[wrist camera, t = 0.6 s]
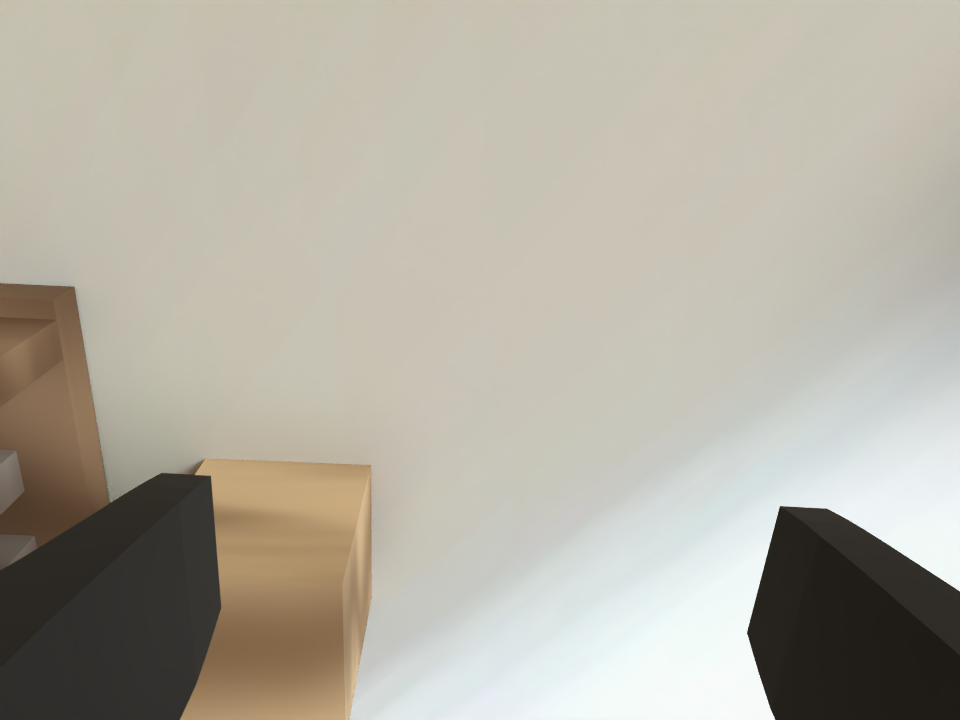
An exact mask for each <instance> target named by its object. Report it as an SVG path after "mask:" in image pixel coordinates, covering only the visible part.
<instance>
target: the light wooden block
mask: <svg viewBox="0 0 960 720" xmlns="http://www.w3.org/2000/svg"><path fill="white" fill-rule="evenodd" d="M195 475H204V476H211V482H212V495H213V508H214V521H215V533H216V546H217V559H218V572H219V584H220V597H221V610H220V614H219V617H218V620H217V623H216V626H215V630H214V633H213V636H212V639H211V642H210V646H209V649H208V652H207V655H206V658H205V660H204V663H203V666H202V669H201V672H200V675H199V678H198V681H197V684H196V686H195V688H194V690H193V693H192V695H191V697H190V699H189V701H188V704H187V706H186V708H185V710H184V712H183V714H182V716H181V719H180V720H349V718H350V713H351V707H352V702H353V696H354V691H355V685H356V680H357V674H358V669H359V663H360V658H361V652H362V647H363V641H364V636H365V630H366V625H367V619H368V614H369V608H370V603H371V597H372V572H371V465H350V464H325V463H300V462H275V461H249V460H224V459H205V460H204V461H203V463H202V464H201V466H200V467H199V469H198V471H197V472H196V474H195Z"/></svg>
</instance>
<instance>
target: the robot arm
mask: <svg viewBox="0 0 960 720" xmlns="http://www.w3.org/2000/svg"><path fill="white" fill-rule="evenodd" d="M220 610H221V597H220V584H219V572H218V559H217V546H216V533H215V521H214V508H213V495H212V482H211V476H204V475H186V474H167V473H161V474H159V475H157V476H155V477H154V478H152V479H150V480H148V481H146V482H144V483H143V484H141V485H139V486H138V487H136V488H134V489H133V490H131V491H129V492H128V493H126V494H124V495H123V496H121V497H119V498H118V499H116V500H115V501H113V502H111V503H110V504H108V505H107V506H105V507H103V508H102V509H100V510H99V511H97V512H95V513H94V514H92V515H91V516H89V517H87V518H86V519H84V520H83V521H81V522H79V523H78V524H76V525H74V526H73V527H71V528H70V529H68V530H66V531H65V532H63V533H61V534H60V535H58V536H57V537H55V538H53V539H52V540H50V541H48V542H47V543H45V544H44V545H42V546H40V547H39V548H37V549H35V550H34V551H32V552H31V553H29V554H27V555H26V556H24V557H22V558H21V559H19V560H17V561H16V562H14V563H12V564H11V565H9V566H7V567H5V568H4V569H2V570H0V720H180V719H181V716H182V714H183V712H184V710H185V708H186V706H187V704H188V701H189V699H190V697H191V695H192V693H193V690H194V688H195V686H196V684H197V681H198V678H199V675H200V672H201V669H202V666H203V663H204V660H205V658H206V655H207V652H208V649H209V646H210V642H211V639H212V636H213V633H214V630H215V626H216V623H217V620H218V617H219V614H220ZM747 634H748V637H749V641H750V644H751V648H752V651H753V654H754V658H755V661H756V665H757V668H758V672H759V675H760V678H761V681H762V684H763V687H764V690H765V693H766V696H767V699H768V702H769V705H770V708H771V711H772V713H773V715H774V717H775V720H960V591H958V590H957V589H955V588H954V587H952V586H951V585H949V584H947V583H946V582H944V581H943V580H941V579H940V578H938V577H937V576H935V575H934V574H932V573H931V572H929V571H927V570H926V569H924V568H923V567H921V566H920V565H918V564H917V563H915V562H914V561H912V560H911V559H909V558H908V557H906V556H904V555H903V554H901V553H900V552H898V551H897V550H895V549H894V548H892V547H891V546H889V545H887V544H886V543H884V542H883V541H881V540H880V539H878V538H876V537H875V536H873V535H872V534H870V533H869V532H867V531H865V530H864V529H862V528H860V527H859V526H857V525H855V524H854V523H852V522H850V521H849V520H847V519H845V518H843V517H842V516H840V515H838V514H836V513H834V512H832V511H830V510H828V509H821V508H802V507H783V506H780V508H779V512H778V516H777V520H776V524H775V528H774V531H773V535H772V539H771V543H770V547H769V551H768V554H767V558H766V562H765V566H764V570H763V574H762V577H761V581H760V585H759V589H758V593H757V597H756V600H755V604H754V608H753V612H752V616H751V620H750V623H749V627H748V631H747Z"/></svg>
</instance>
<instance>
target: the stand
mask: <svg viewBox="0 0 960 720" xmlns="http://www.w3.org/2000/svg"><path fill="white" fill-rule="evenodd" d="M108 504H110V503H109V497H108V491H107V485H106V479H105V472H104V466H103V460H102V454H101V448H100V442H99V436H98V429H97V423H96V417H95V411H94V405H93V399H92V393H91V386H90V380H89V374H88V368H87V362H86V356H85V350H84V344H83V337H82V331H81V325H80V319H79V313H78V307H77V301H76V294H75V288H74V287H65V286H44V285H22V284H1V283H0V570H2V569H4V568H5V567H7V566H9V565H11V564H12V563H14V562H16V561H17V560H19V559H21V558H22V557H24V556H26V555H27V554H29V553H31V552H32V551H34V550H35V549H37V548H39V547H40V546H42V545H44V544H45V543H47V542H48V541H50V540H52V539H53V538H55V537H57V536H58V535H60V534H61V533H63V532H65V531H66V530H68V529H70V528H71V527H73V526H74V525H76V524H78V523H79V522H81V521H83V520H84V519H86V518H87V517H89V516H91V515H92V514H94V513H95V512H97V511H99V510H100V509H102V508H103V507H105V506H107V505H108Z"/></svg>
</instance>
